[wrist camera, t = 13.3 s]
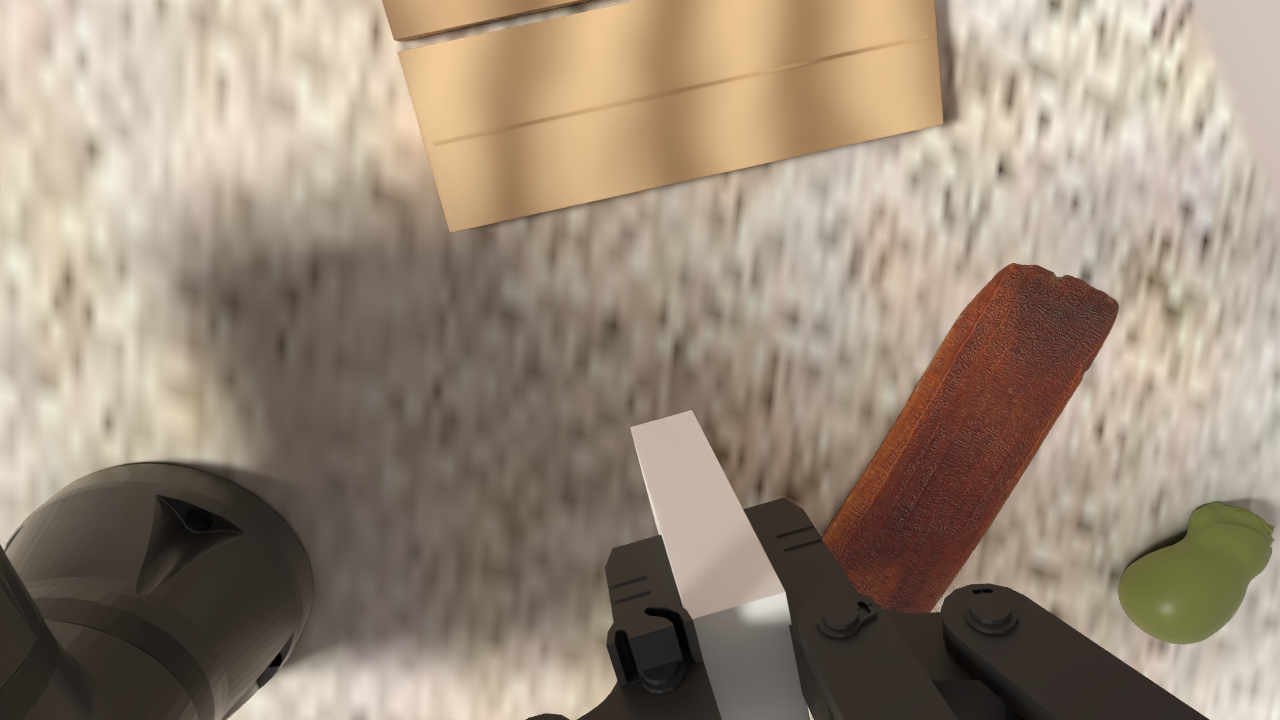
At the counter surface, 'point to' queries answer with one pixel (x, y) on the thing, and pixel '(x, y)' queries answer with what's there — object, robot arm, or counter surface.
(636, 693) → the robot arm
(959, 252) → the counter surface
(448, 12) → the laid boards
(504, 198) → the plank
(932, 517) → the wooden tablet
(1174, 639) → the pear
